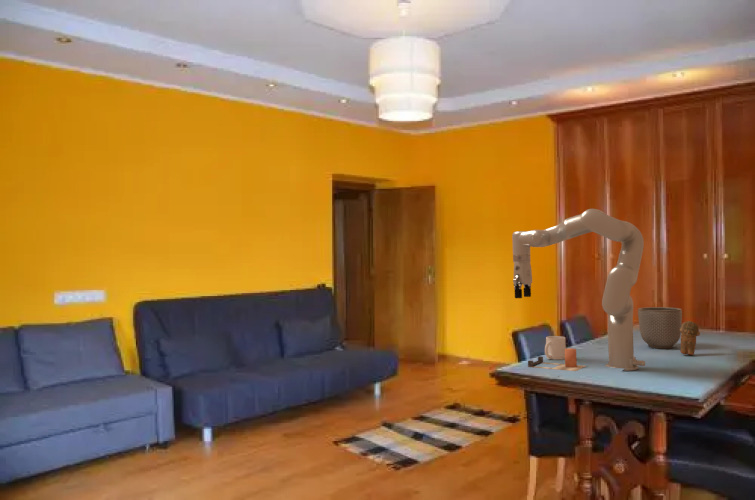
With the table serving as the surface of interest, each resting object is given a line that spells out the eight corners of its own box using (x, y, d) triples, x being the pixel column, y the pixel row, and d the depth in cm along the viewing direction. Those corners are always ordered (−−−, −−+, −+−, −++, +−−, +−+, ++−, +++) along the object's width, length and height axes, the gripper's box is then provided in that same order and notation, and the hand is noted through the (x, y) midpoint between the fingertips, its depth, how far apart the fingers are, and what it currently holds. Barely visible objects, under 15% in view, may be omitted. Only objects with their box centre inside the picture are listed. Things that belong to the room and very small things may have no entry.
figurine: (680, 356, 275) (679, 322, 276) (679, 353, 283) (678, 320, 283) (702, 356, 272) (700, 323, 272) (700, 354, 280) (698, 321, 280)
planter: (690, 350, 291) (689, 309, 292) (649, 351, 292) (647, 310, 292) (671, 344, 311) (670, 306, 311) (632, 345, 311) (631, 307, 312)
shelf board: (586, 368, 251) (586, 359, 251) (576, 374, 241) (575, 364, 241) (539, 364, 263) (539, 356, 263) (527, 369, 253) (527, 360, 253)
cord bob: (578, 365, 252) (577, 348, 252) (574, 367, 248) (574, 350, 248) (567, 365, 254) (566, 348, 254) (563, 366, 251) (563, 349, 251)
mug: (553, 363, 265) (552, 339, 265) (537, 361, 271) (536, 338, 271) (569, 360, 272) (569, 337, 272) (554, 358, 279) (553, 335, 279)
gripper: (521, 259, 264) (523, 299, 264) (537, 258, 278) (538, 296, 278) (505, 259, 268) (506, 298, 268) (521, 258, 282) (522, 296, 282)
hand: (523, 297), depth 273 cm, fingers open, 9 cm apart
